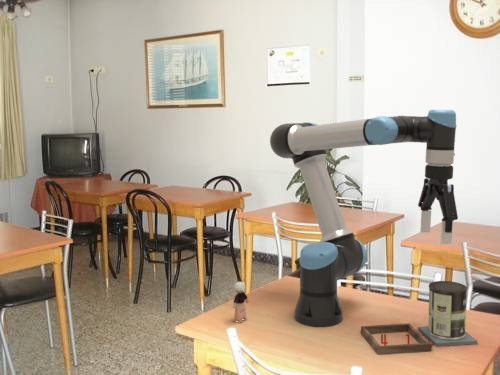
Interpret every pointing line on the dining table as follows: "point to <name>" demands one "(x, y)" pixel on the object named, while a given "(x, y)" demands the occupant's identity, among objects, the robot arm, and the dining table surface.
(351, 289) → the dining table surface
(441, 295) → the coffee can
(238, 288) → the grandmother figurine
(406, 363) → the dining table surface
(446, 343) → the mat
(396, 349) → the square picture frame
